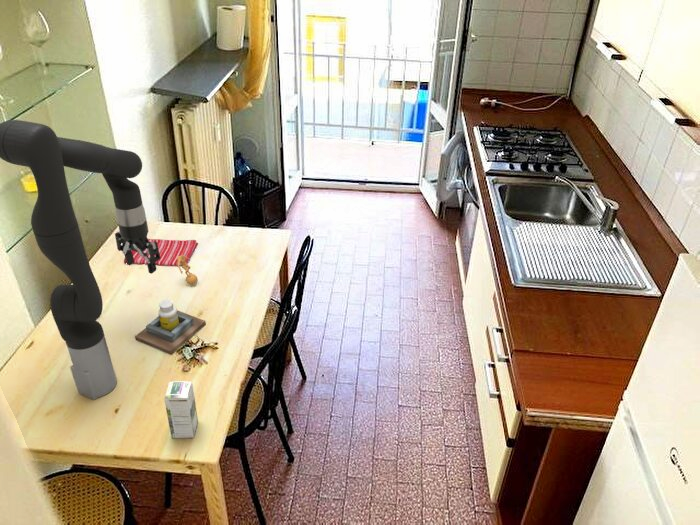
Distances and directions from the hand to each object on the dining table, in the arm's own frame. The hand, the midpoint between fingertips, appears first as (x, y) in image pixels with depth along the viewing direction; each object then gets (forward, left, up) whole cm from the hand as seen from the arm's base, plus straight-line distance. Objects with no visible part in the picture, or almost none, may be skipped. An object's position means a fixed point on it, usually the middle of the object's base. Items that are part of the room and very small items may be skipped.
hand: (141, 268), depth 165 cm
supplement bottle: (+1, -6, -21) cm, 22 cm away
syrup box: (-27, -35, -23) cm, 50 cm away
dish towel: (+35, +28, -24) cm, 51 cm away
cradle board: (+1, -6, -23) cm, 23 cm away
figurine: (+24, +6, -23) cm, 34 cm away
